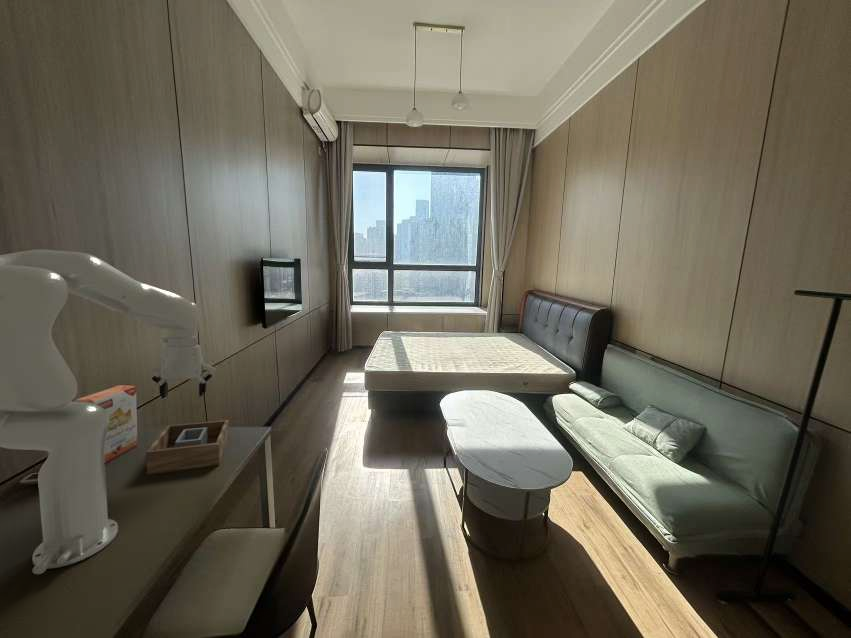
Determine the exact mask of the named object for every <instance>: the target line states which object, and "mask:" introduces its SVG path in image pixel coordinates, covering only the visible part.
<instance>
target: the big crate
mask: <svg viewBox="0 0 851 638" xmlns="http://www.w3.org/2000/svg"><path fill="white" fill-rule="evenodd" d="M204 427H207V444H202V445H193V446H185V447H176V448H175V442H176V440H177V439H178V437H179V436H180V434H181V433H182V431H183V430H184V429H194V428H204ZM229 438H230V420H229V419H224V420H223V419H222V420H212V421H201V422H191V423H179V424H178V423H177V424H168V425H166V427H165V428H164V429H163V430H162V432H161V433H160V434H159V435H158V437H157V438H156V440H155V441H154V442H153V443H152V444H151V446H150V447H149V448H148V449H147V450H146V452H145V455H146V458H145V459H146V475H147V476H150V475H151V476H152V475H157V474H158V475H159V474H165V473H166V474H167V473H173V472H181V471H187V470H188V471H189V470H193V469H195V470H196V469H202V467H203V468H209V467H216V466H217V465H218V466H220V465H219V464H221V461H222V459H223V456H224V454H225V451H226V448H227V445H226V444H228V442H229V440H228V439H229ZM227 441H228V442H227ZM225 447H226V448H225ZM224 450H225V451H224ZM223 453H224V454H223ZM208 466H209V467H208Z"/></svg>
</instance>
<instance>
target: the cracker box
mask: <svg viewBox="0 0 851 638" xmlns="http://www.w3.org/2000/svg"><path fill="white" fill-rule="evenodd" d="M74 402H86V403H92V404H96V405H98V406H100V407H102V408H104V409H105V410H106V412H107V413H108V416H109V425H108V430H107V434H106V440H105V449H104V460H105V464H106V463H107V462H110V461H111V460H114V459H115V458H116V457H119V456H121V455H123V454H124V453H125V452H128V451H129V450H131V449H133V448H135V447H137V446H138V418H137V417H138V416H137V413H138V412H137V411H138V410H137V386H135V385H123V384H120V385H115V386H113V387H110V388H108V389H107V388H106V389H103V390H101V391H98V392H95V393H92V394H89V395H86V396H82V397H79V398H77V399H75V400H74Z"/></svg>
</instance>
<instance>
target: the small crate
mask: <svg viewBox="0 0 851 638" xmlns="http://www.w3.org/2000/svg"><path fill="white" fill-rule="evenodd" d="M202 444H207V427H204V428H194V429H184V430H183V431H182V433H181V434H180V436H179V437H178V439H177V440H176V442H175V448H176V447H185V446H193V445H202Z"/></svg>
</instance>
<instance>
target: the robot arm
mask: <svg viewBox="0 0 851 638" xmlns="http://www.w3.org/2000/svg"><path fill="white" fill-rule="evenodd" d="M69 294H74V295H76V296H78V297H81V298H84V299H85V300H87V301H88V300H89V301H91V302H93V303H95V304H98V305H100V306H102V307H104V308H106V309H109V310H111V311H113V312H116V313H117V312H118V313H122V314H126V315H130V316H131V315H133V316H135V317H136V320H137V322H138V323H139V324H140V325H141V326H143V327H145V328H148V329H157V330H167V331H166V333H167V336H166V337H162V338H161V343H164V344H166V346H164V347H163V350H162V356H161V362H160V363H161V364H160V365H158V366H156V367H154V368H151V369H150V370H148V371H147V374H148V375H149V377H150V378H151V380H152V381H154V382H155V383H156V384H157V386H159V395H161V396H160V397H161V399H165V398H166V397H167V396H168V395H169V385H168V384H169V383H168V382H167V381H177V380H179V381H181V380H195V379H196V380H198V382H200V383H199V384H198V395H199V397H203V395H204V394H205V393H206V392H207V381H209V380H210V379H211V378H212V377H213V375H214V374H215V373H216V370H217V368H216V367H214V366H211V365H210V364H208V363H207V364H206V363H204V358H203V351H202V347H201V345H200V344H198V343H199V339H198V338H199V337H198V336H199V335H198V332H199V331H198V329H199V327H198V326H199V325H198V324H199V322H200V319H201V318H200V317H201V316H200V312H199V308H198V305H197V303H195V302H193V301H189V300H188V299H186V298H185V297H182V296H180V295H178V294H176V293H174V292H171V291H168V290H165V289H162V288H159V287H156V286H153V285H150V284H147V283H144V282H142V281H138V280H136V279H135V278H133V277H131V276H129V275H128V274H126V273H124V272H122V271H121V270H119V269H117V268H115V267H114V266H113V265H111V264H109V263H107V262H105V261H104V260H102V259H100V258H99V257H97V256H95V255H92V254H89V253H85V252H81V251H67V250H52V249H30V250H23V251H22V250H21V251H17V252H11V253H7V254H0V448H2V449H3V448H4V449H8V450H24V451H25V450H28V451H29V450H30V451H45V452H47V454H48V455H47V458H46V460H45V462H44V463H43V464H42V465H41V467H40V469H39V472H38V476H37V484H38V485H37V486H38V495H39V508H40V519H41V520H40V521H41V533H42V542H41V543H39V545H38V546H37V547H36V548H35V550H34V551H33V553H32V559H31V560H32V564H33V565H34V567H33V568H32V573H33V574H35V575H41V574H44V573H45V571H46V570H47V569H48V570H49V569H57V568H63V567H66V566H69V565H73V564H76V563H78V562H80V561H83V560H85V559H87V558H89V557H91V556H93V555H94V554H97V553H98V552H99V551H101V550H102V549H104V548H105V547H107V545H109V544H110V543H111V542H112V541H113V540H114V539H115V537H116V536H117V533H118V532H119V525H118V523H117V522H116V520H114V519H111V518H109V516H108V500H107V499H108V498H107V482H106V480H107V479H106V478H107V477H106V466H105V465H106V463H105V460H104V449H105V440H106V434H107V430H108V425H109V416H108V413H107V412H106V410H105V409H104V408H102V407H100V406H98V405H96V404H92V403H86V402H75V401H73V400H74V399H75V397H76V396H77V393H78V387H79V386H78V384H77V383H78V382H77V380H76V377H75V376H74V374H73V372H72V371H71V369H70V367H69V366H68V364H67V362H66V361H65V360H64V357H63V356H62V354H61V353H60V351H59V350H58V348H57V346H56V344H55V342H54V340H53V337H52V329H53V326H54V323H55V320H56V318H57V316H58V315H59V314H60V311H61V310H62V309H63V307H64V306H65V304H66V302H67V300H68V297H69ZM204 370H206V371H208V373H207V375H206V376H205V374H204ZM159 371H160V376H159V375H158V374H157V372H159Z"/></svg>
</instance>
